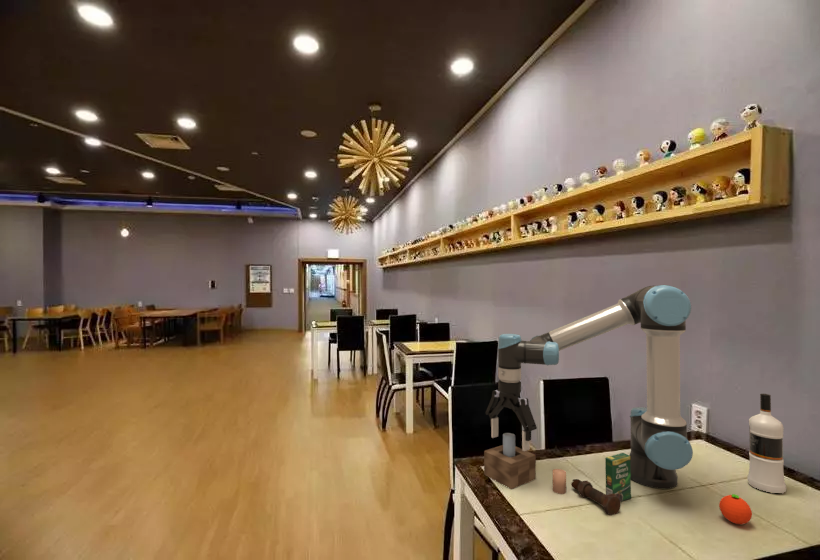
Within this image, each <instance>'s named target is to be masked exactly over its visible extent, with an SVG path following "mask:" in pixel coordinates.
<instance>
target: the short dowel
mask: <svg viewBox="0 0 820 560" xmlns="http://www.w3.org/2000/svg"><path fill="white" fill-rule="evenodd" d="M552 492H554V493H556V494H557V495H558V494H559V495H565V494H566V493H567V471H566V470H564V469H562V468H554V469H552Z"/></svg>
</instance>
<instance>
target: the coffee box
mask: <svg viewBox="0 0 820 560" xmlns="http://www.w3.org/2000/svg"><path fill="white" fill-rule="evenodd" d="M604 460H605V463H604V465H605V472H604V473H605V494H606V495H609V494H615V495H617V497H618V498H619V500H620V503H621V502H623V501H628V500H630V499H632V487H631V486H632V484H631V483H632V481H631V470H630V456H629V454H627V453H625V452H620V453H618V454H613V455H610V456H609V455H608V456H605V458H604Z"/></svg>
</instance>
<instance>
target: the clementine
mask: <svg viewBox="0 0 820 560" xmlns="http://www.w3.org/2000/svg"><path fill="white" fill-rule="evenodd" d="M718 507H719V510H720V513H721V514H722V515H723V517H724V518H725V519H726V520H727V521H729V522H731V523H733V524H736V525H745V524H748V523H749V522H750V521H751V520H752V517H753V512H752V511H753V510H752V508H751V507H750V505H749V504H748V502H747V501H745V499H743V498H742V497H740V496H739V495H738V494H736V493H735V494H734V493H732V494H727V495H725V496H723V497H721V499H720V501H719V505H718Z"/></svg>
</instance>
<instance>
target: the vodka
mask: <svg viewBox="0 0 820 560" xmlns="http://www.w3.org/2000/svg"><path fill="white" fill-rule="evenodd" d="M759 396H760V397H759V400H760V403H759V404H760V405H759V407H760V410H759V413H758V414H755V415H753V416H751V417H750V418H749V419H748V424H749V426H748V427H749V430H748V431H749V433H748V434H749V439H748V441H749V452H748V454H749V469H748V474H747V478H746V479H747V480H746V481H747V482H748V484H749V485H750V486H751V487H753V488H754V489H756V488H757V489H756V490H758V489H759V490H758V491H760V490H763V491H766V492H765V493H767V492H772V493H782V494H785V493H786V491H787V484H786V482H785V475H784V473H785V471H784V463H785V460H784V440H783V439H784V430H785V429H784V425H783V423H782V422H781V421H780V420H779V419H778V418H776V417H774V416H773V415H772V402H771V401H772V398H771V397H772V396H771V394H769V393H760V394H759ZM763 491H762V492H763ZM784 492H785V493H784ZM772 493H771V494H772Z"/></svg>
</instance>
